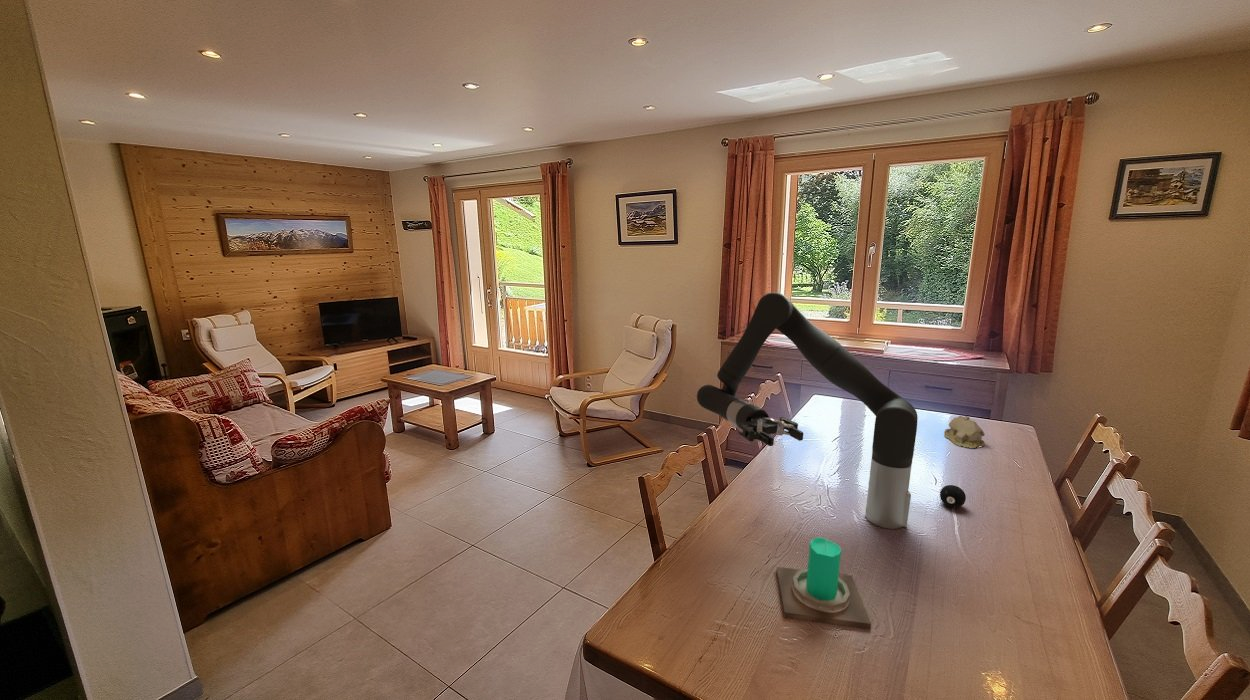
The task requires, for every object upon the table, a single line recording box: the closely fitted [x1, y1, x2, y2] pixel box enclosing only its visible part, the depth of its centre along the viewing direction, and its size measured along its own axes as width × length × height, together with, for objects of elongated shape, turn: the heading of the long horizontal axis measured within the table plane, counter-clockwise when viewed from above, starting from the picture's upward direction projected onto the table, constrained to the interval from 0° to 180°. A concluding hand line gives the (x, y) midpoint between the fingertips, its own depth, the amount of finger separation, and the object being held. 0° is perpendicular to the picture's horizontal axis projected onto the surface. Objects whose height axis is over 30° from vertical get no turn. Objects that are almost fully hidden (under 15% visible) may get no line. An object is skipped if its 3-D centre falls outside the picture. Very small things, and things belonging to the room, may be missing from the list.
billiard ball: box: [939, 484, 967, 508], centre depth 135 cm, size 6×6×6 cm
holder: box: [775, 566, 872, 630], centre depth 100 cm, size 16×14×3 cm
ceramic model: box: [943, 415, 986, 449], centre depth 178 cm, size 14×11×10 cm
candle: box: [806, 536, 842, 601], centre depth 99 cm, size 6×6×12 cm
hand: (787, 439), depth 112 cm, fingers open, 8 cm apart
